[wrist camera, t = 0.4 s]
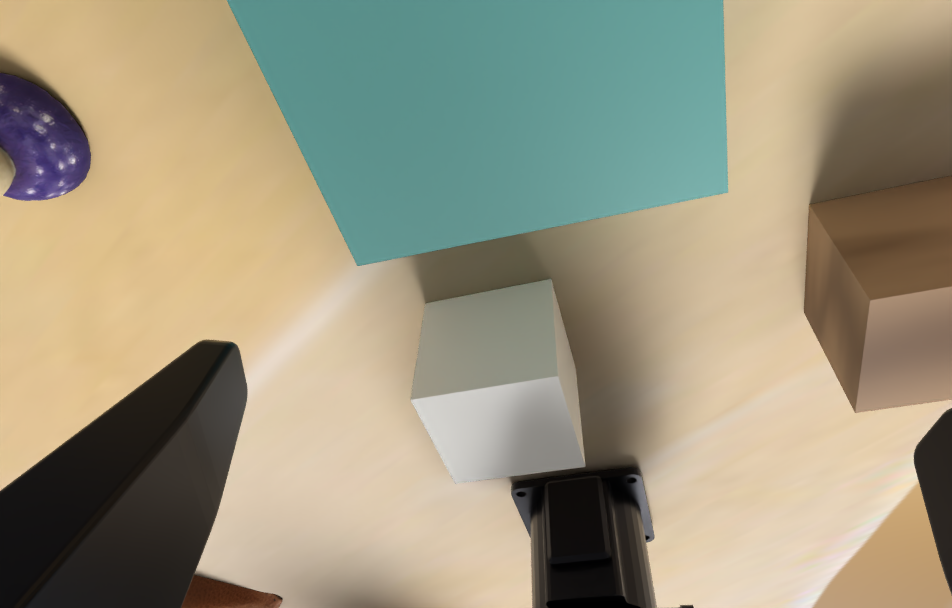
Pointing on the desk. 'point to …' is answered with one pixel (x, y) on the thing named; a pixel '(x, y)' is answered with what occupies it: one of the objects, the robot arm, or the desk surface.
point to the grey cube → (499, 384)
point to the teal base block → (494, 111)
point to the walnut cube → (884, 292)
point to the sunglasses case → (226, 596)
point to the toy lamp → (38, 143)
